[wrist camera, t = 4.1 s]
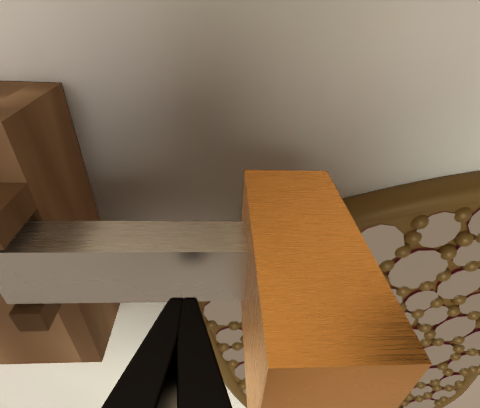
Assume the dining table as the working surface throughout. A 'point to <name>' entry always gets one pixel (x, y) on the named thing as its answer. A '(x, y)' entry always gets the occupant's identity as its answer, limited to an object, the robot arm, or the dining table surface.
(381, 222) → the decorative heart
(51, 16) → the dining table surface
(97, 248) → the bar
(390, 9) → the dining table surface
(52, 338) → the dock block
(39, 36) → the dining table surface
